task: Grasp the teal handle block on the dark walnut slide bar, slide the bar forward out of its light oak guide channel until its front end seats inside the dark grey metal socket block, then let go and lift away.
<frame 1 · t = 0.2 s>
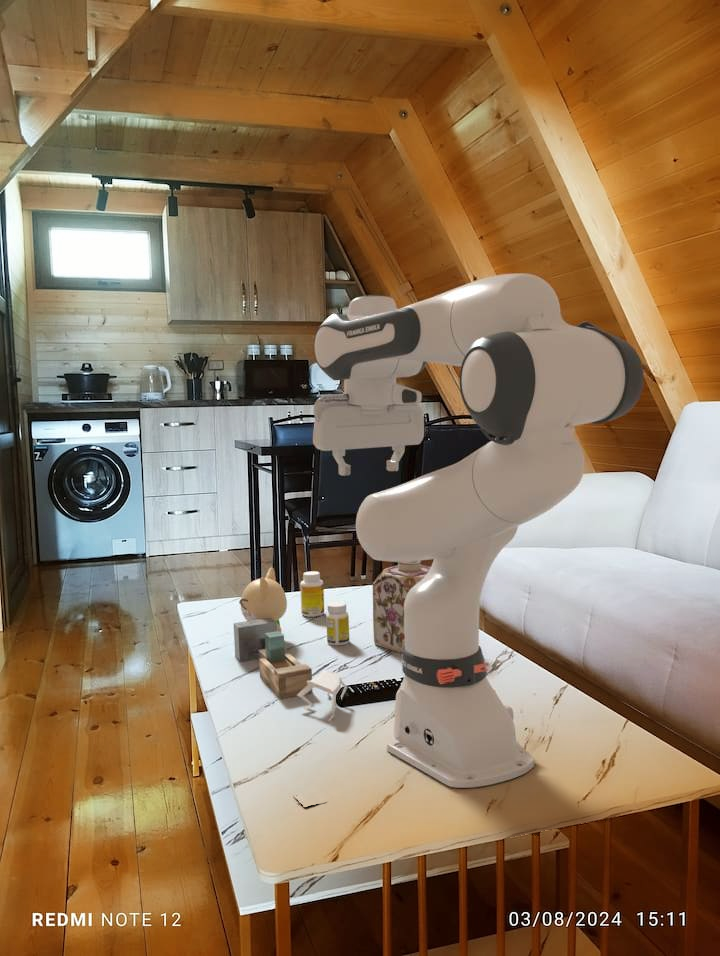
hand: (368, 472, 136), 39 cm above the table, tool pointing down, fingers open, 8 cm apart
slide bar: (278, 654, 145), point 5 cm above the table, slide at 1.0 cm
socket block: (256, 655, 159), on the table
supplement bottle: (338, 643, 166), on the table
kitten: (265, 640, 170), on the table
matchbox: (312, 801, 102), on the table
supplement bottle 2: (313, 615, 188), on the table
decorative jar: (412, 645, 163), on the table
guide channel: (285, 684, 142), on the table
origami figure: (326, 711, 130), on the table
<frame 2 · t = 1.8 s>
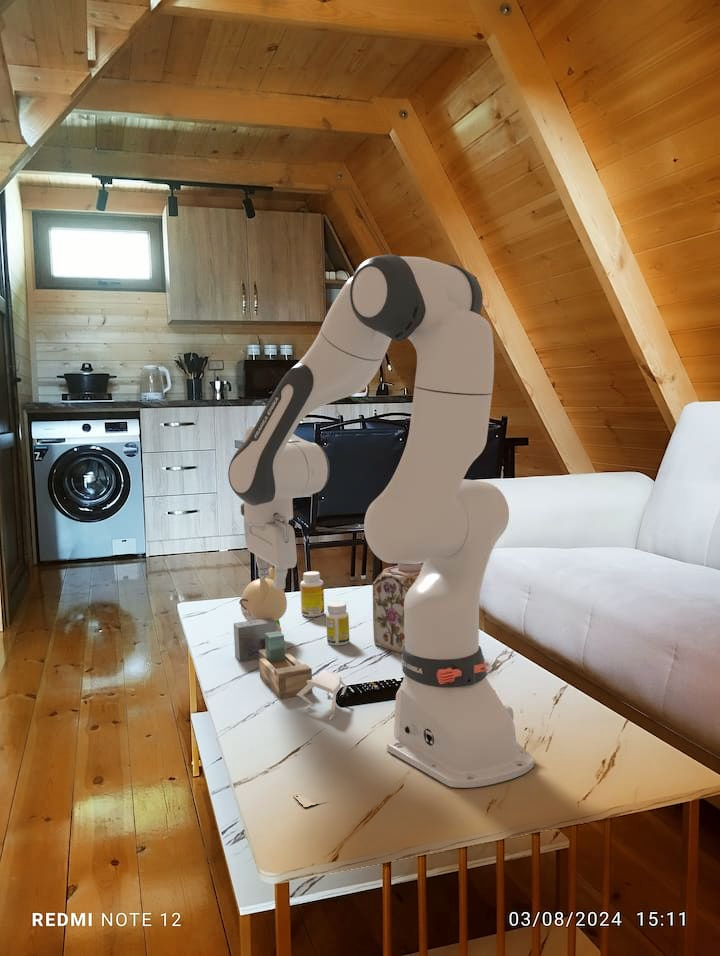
hand: (271, 583, 146), 18 cm above the table, tool pointing down, fingers open, 8 cm apart
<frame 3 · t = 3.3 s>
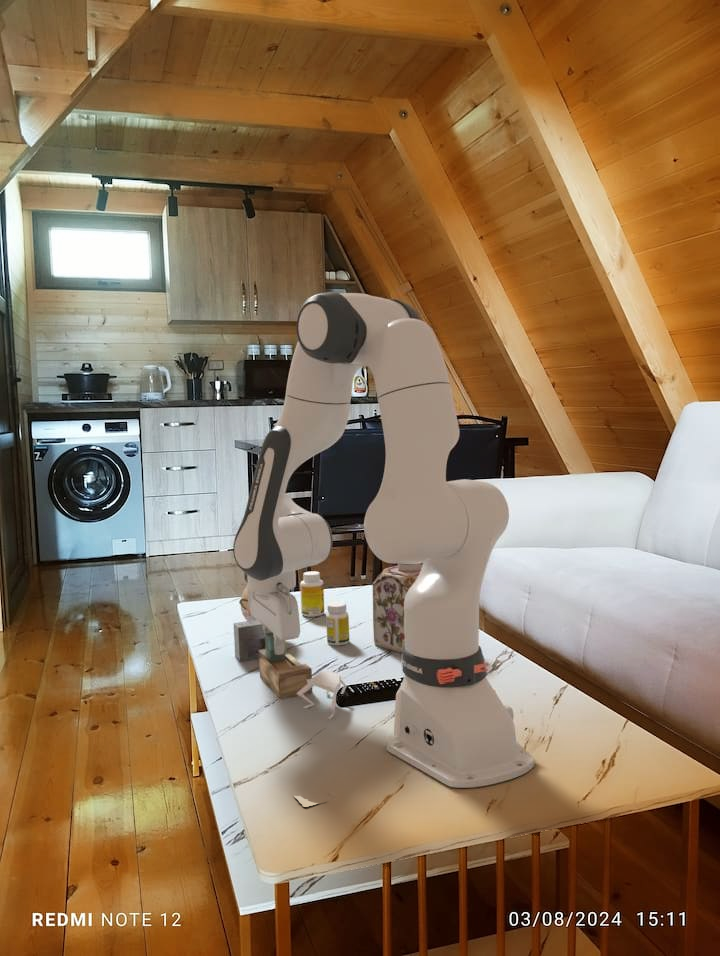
hand: (275, 650, 147), 5 cm above the table, tool pointing down, fingers closed on slide bar, 3 cm apart
slide bar: (278, 654, 145), point 5 cm above the table, slide at 1.0 cm, touching gripper
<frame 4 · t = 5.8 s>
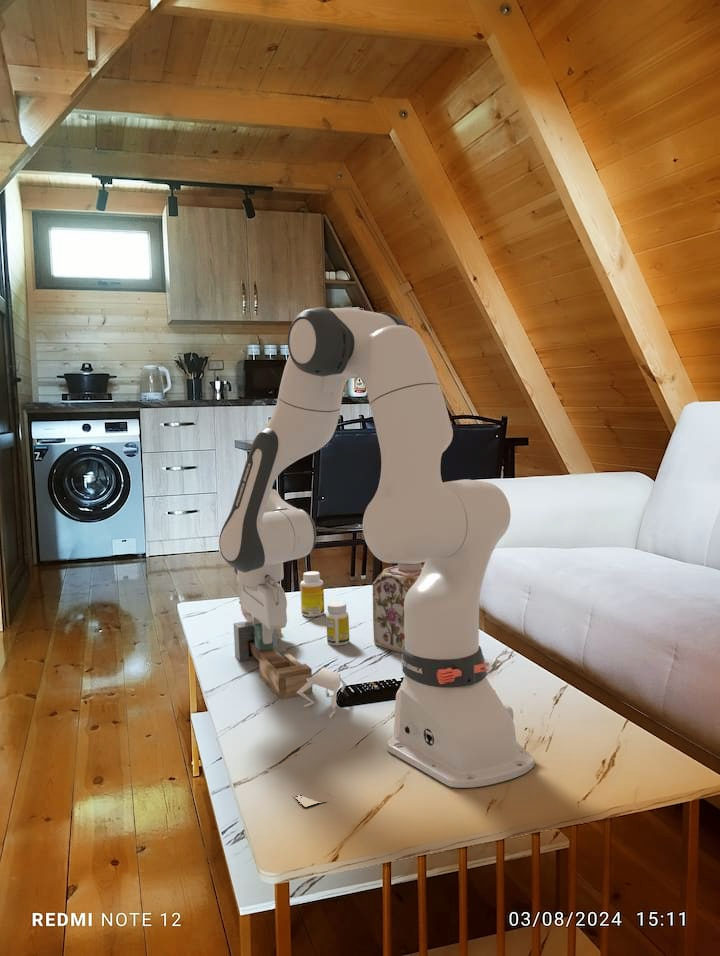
hand: (263, 639, 153), 5 cm above the table, tool pointing down, fingers closed on slide bar, 3 cm apart
slide bar: (266, 644, 152), point 5 cm above the table, slide at 8.1 cm, touching gripper
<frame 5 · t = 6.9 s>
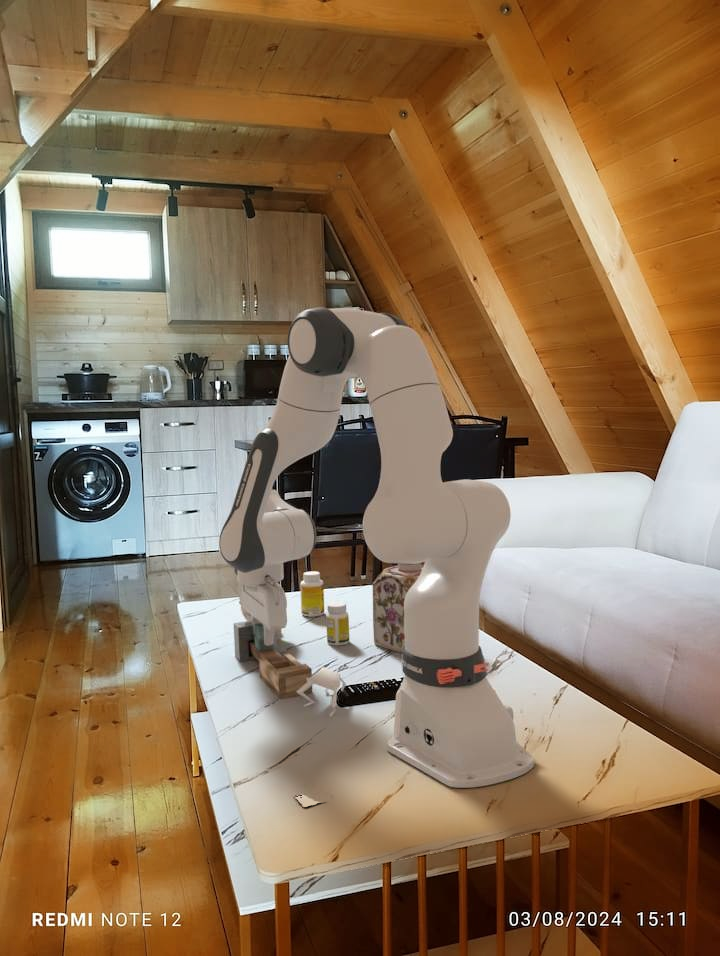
hand: (263, 640, 153), 5 cm above the table, tool pointing down, fingers open, 5 cm apart
slide bar: (266, 644, 152), point 5 cm above the table, slide at 8.1 cm
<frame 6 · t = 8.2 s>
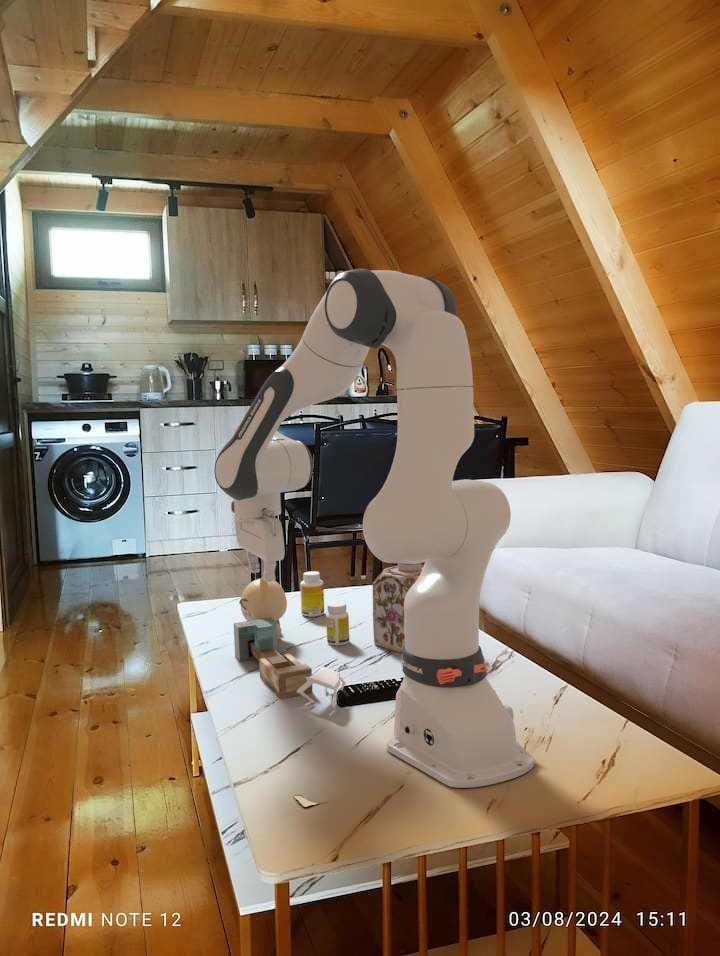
hand: (261, 576, 152), 18 cm above the table, tool pointing down, fingers open, 8 cm apart
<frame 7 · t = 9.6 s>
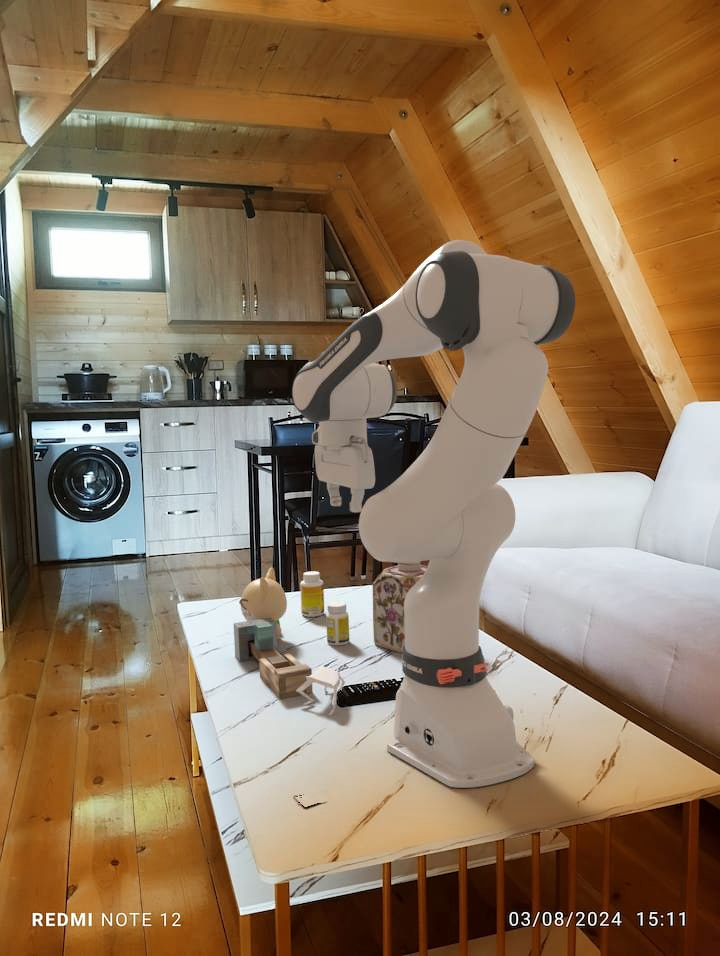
hand: (345, 508, 147), 31 cm above the table, tool pointing down, fingers open, 8 cm apart
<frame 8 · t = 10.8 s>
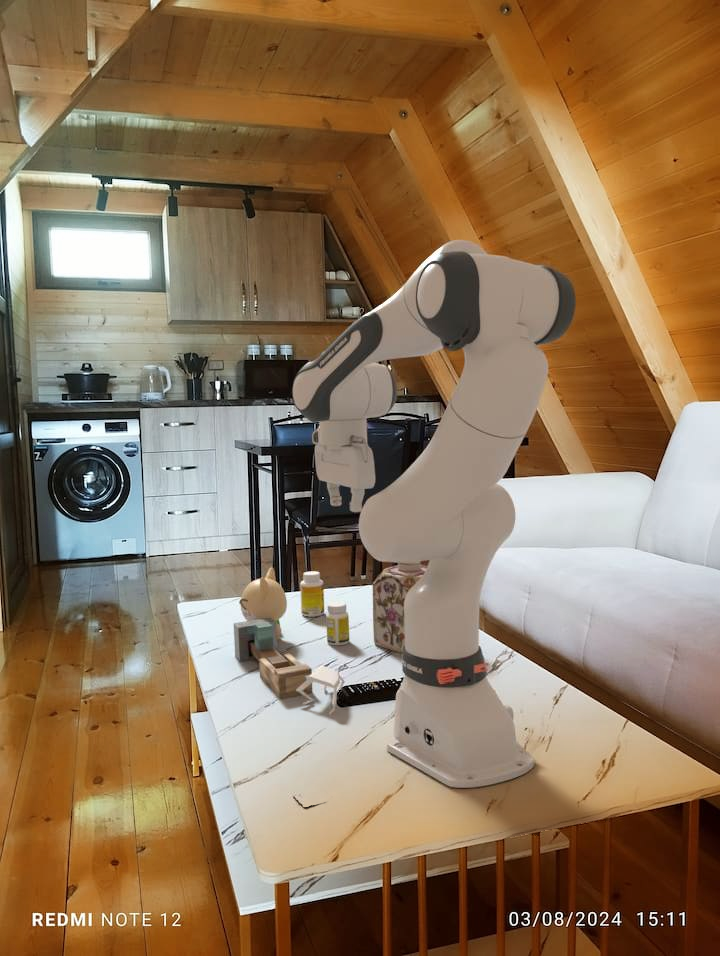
hand: (345, 508, 147), 31 cm above the table, tool pointing down, fingers open, 8 cm apart
at the end: slide bar slide at 8.1 cm; the gripper is holding nothing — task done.
